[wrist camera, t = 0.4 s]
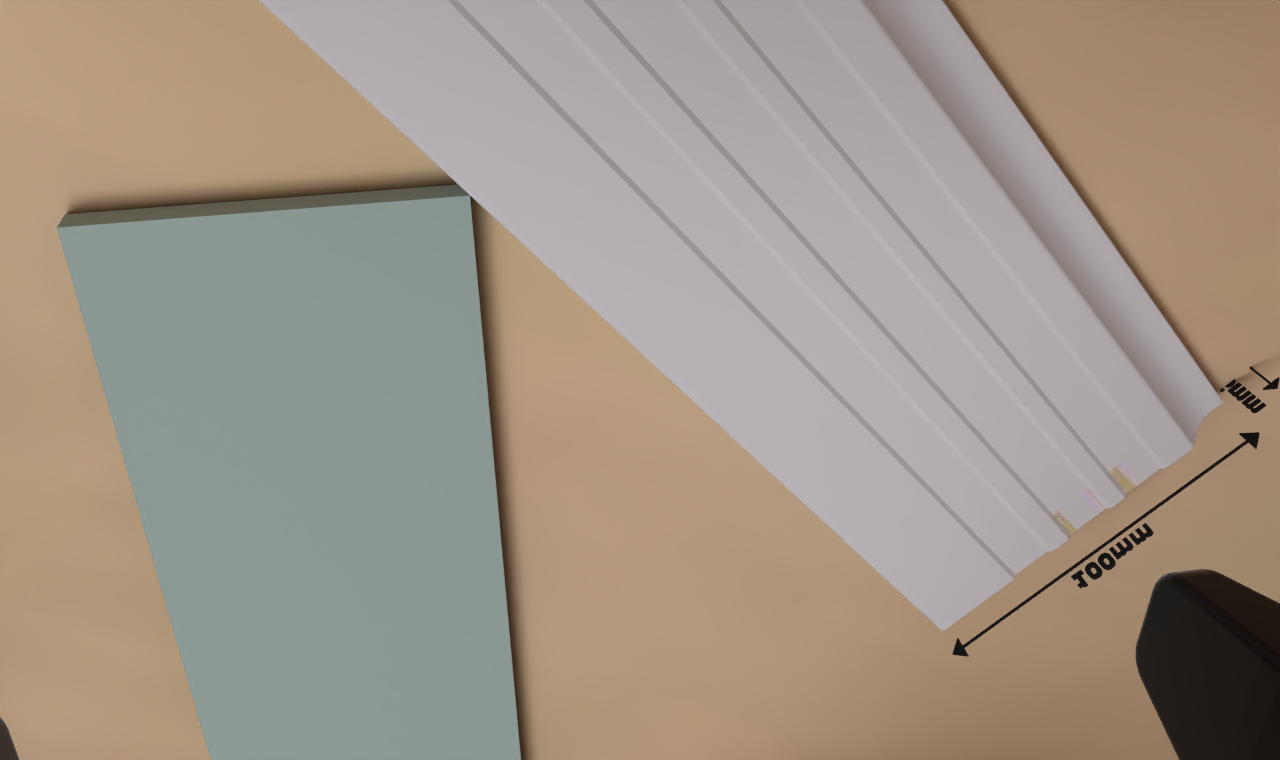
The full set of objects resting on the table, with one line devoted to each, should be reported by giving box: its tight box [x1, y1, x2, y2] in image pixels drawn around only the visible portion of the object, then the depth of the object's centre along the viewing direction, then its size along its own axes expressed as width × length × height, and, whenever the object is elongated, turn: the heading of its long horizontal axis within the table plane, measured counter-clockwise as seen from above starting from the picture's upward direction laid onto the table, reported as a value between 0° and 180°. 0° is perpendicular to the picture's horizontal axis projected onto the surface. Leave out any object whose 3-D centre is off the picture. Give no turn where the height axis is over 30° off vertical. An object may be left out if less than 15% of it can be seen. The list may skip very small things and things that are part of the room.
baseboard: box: [259, 0, 1279, 656], centre depth 20 cm, size 30×3×10 cm
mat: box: [57, 184, 521, 760], centre depth 25 cm, size 17×7×1 cm, turn 0°
